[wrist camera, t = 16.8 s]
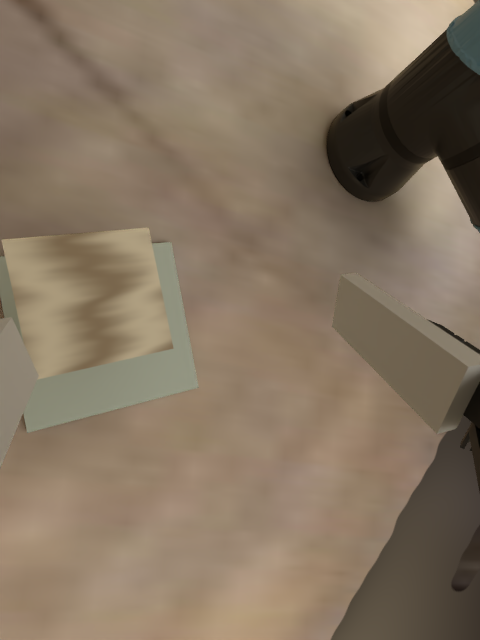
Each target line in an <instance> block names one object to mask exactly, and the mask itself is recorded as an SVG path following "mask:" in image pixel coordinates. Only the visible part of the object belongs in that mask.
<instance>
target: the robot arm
mask: <svg viewBox="0 0 480 640" xmlns="http://www.w3.org/2000/svg"><path fill="white" fill-rule="evenodd" d="M327 151H328V157H329V161H330V164H331V167H332V169H333V171H334V173H335V175H336V177H337V179H338V180H339V182H340V183H341V184H342V185H343V186H344V188H345V189H346V190H348V191H349V192H350V193H351V194H352V195H354V196H356V197H357V198H360V199H362V200H365V201H380V200H383V199H385V198H387V197H388V196H390V195H392V194H394V193H396V192H397V191H398V190H400V189H401V188H402V187H403V186H404V185H405V184H406V183H407V182H408V180H409V179H410V178H411V177H412V176H413V175H414V174H415V173H416V172H417V171H418V170H419V169H420V168H421V167H422V166H423V165H424V164H425V163H426V162H428V161H430V160H432V159H433V158H435V157H437V156H438V157H439V159H440V161H441V163H442V165H443V166H444V168H445V170H446V172H447V174H448V176H449V178H450V180H451V182H452V184H453V186H454V188H455V190H456V192H457V194H458V196H459V198H460V199H461V201H462V203H463V205H464V207H465V209H466V211H467V213H468V215H469V217H470V221H471V223H472V224H473V226H474V227H475V228H476V229H477V230H478V231H479V233H480V0H479V1H478V2H477V3H475V4H474V5H473V6H472V7H471V8H470V9H468V10H467V11H466V12H465V13H464V14H462V15H460V16H458V17H457V18H455V19H454V20H453V21H452V22H451V23H450V24H449V27H448V28H447V30H446V31H445V32H444V33H443V34H441V35H440V36H439V37H438V38H437V39H436V40H435V41H434V42H433V43H432V44H431V45H430V46H429V47H428V48H427V49H426V50H424V51H423V52H422V53H421V54H420V55H419V56H418V57H417V58H416V59H415V60H414V61H413V62H412V63H411V64H409V65H408V66H407V67H406V68H405V69H404V70H403V71H402V72H401V73H400V74H399V75H397V76H396V77H395V78H394V79H393V80H392V81H391V82H390V83H389V84H388V85H387V86H386V87H385V88H383V89H381V90H379V91H377V92H375V93H373V94H370V95H368V96H366V97H364V98H362V99H360V100H358V101H356V102H353V103H352V104H350V105H349V106H347V107H346V108H345V109H344V110H343V111H342V112H341V113H340V114H339V115H338V116H337V117H336V118H335V119H334V121H333V122H332V124H331V126H330V129H329V132H328V138H327ZM332 327H333V328H334V329H335V330H336V331H337V332H338V333H339V334H340V335H341V336H342V337H343V338H344V339H345V340H346V341H347V342H348V343H349V344H350V345H351V346H352V347H353V348H354V349H355V350H356V351H357V352H358V353H359V355H360V356H361V357H362V358H363V359H364V360H365V361H366V362H367V363H368V364H369V365H370V366H371V367H372V368H373V369H374V370H375V371H376V372H377V373H378V374H379V375H380V376H381V377H382V378H383V379H384V380H385V381H386V382H387V383H388V384H389V385H390V386H391V387H392V388H393V389H394V390H395V391H396V392H397V394H398V395H399V396H400V397H401V398H402V399H403V400H404V401H405V402H406V403H407V404H408V405H409V406H410V407H411V408H412V409H413V410H414V411H415V412H416V413H417V414H418V415H419V416H420V417H421V418H422V419H423V420H424V421H425V422H426V423H427V424H428V425H429V426H430V427H431V428H432V429H433V430H434V431H435V433H436V434H439V433H442V432H446V431H450V430H453V429H457V427H458V425H459V423H460V421H461V419H462V417H463V415H464V416H466V417H467V418H468V419H469V420H470V421H471V422H472V423H471V425H470V427H469V428H468V430H467V432H466V434H465V436H464V438H463V439H462V441H461V445H460V447H461V448H463V449H464V448H465V446H466V444H467V443H468V442H471V449H470V451H472V453H473V458H474V464H475V470H476V475H477V481H478V486H479V491H480V350H479V349H477V348H476V347H474V346H473V345H471V344H470V343H468V342H465V341H464V339H462V338H461V337H459V336H457V335H454V333H453V332H451V331H450V330H448V329H447V328H445V327H444V326H442V325H440V324H437V323H435V322H432V321H430V320H427V319H425V318H424V317H422V316H421V315H419V314H418V313H416V312H415V311H413V310H412V309H410V308H409V307H407V306H406V305H404V304H403V303H401V302H400V301H398V300H396V299H395V298H393V297H392V296H390V295H389V294H387V293H386V292H384V291H383V290H381V289H380V288H378V287H377V286H375V285H374V284H372V283H371V282H369V281H368V280H366V279H365V278H363V277H362V276H360V275H359V274H357V273H349V274H341V276H340V282H339V288H338V294H337V300H336V306H335V312H334V318H333V324H332ZM38 376H39V375H38V373H37V371H36V369H35V367H34V364H33V362H32V360H31V358H30V356H29V353H28V351H27V349H26V347H25V345H24V343H23V340H22V338H21V336H20V334H19V332H18V330H17V327H16V325H15V323H14V321H13V319H12V317H9V318H2V319H0V467H1V465H2V463H3V460H4V458H5V455H6V453H7V451H8V448H9V446H10V443H11V441H12V439H13V436H14V434H15V431H16V429H17V427H18V424H19V422H20V419H21V417H22V415H23V412H24V410H25V408H26V405H27V403H28V400H29V398H30V396H31V393H32V391H33V388H34V386H35V384H36V381H37V379H38Z"/></svg>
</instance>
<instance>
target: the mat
mask: <svg viewBox="0 0 480 640" xmlns="http://www.w3.org/2000/svg"><path fill="white" fill-rule="evenodd" d="M152 246H153V251H154V256H155V261H156V266H157V271H158V276H159V280H160V285H161V290H162V295H163V300H164V305H165V309H166V314H167V319H168V324H169V329H170V334H171V338H172V343H173V348H174V349H170V350H165V351H161V352H156V353H152V354H148V355H143V356H139V357H135V358H130V359H126V360H121V361H117V362H113V363H108V364H104V365H99V366H95V367H91V368H86V369H82V370H77V371H73V372H69V373H64V374H60V375H55V376H51V377H47V378H42V379H38V380H37V381H36V384H35V386H34V388H33V391H32V393H31V396H30V398H29V400H28V403H27V405H26V408H25V410H24V412H23V414H24V419H25V424H26V429H27V433H29V432H33V431H36V430H40V429H44V428H48V427H51V426H55V425H59V424H63V423H67V422H70V421H74V420H78V419H82V418H85V417H89V416H93V415H97V414H101V413H104V412H108V411H112V410H116V409H119V408H123V407H127V406H131V405H135V404H138V403H142V402H146V401H150V400H153V399H157V398H161V397H165V396H169V395H172V394H176V393H180V392H184V391H187V390H191V389H195V388H199V387H198V381H197V376H196V371H195V366H194V360H193V355H192V350H191V344H190V339H189V334H188V328H187V323H186V318H185V313H184V307H183V302H182V297H181V291H180V286H179V281H178V275H177V270H176V265H175V260H174V254H173V249H172V244H171V242H166V243H154V244H152ZM0 298H1V303H2V308H3V313H4V318H9V317H12V319H13V321H14V323H15V325H16V327H17V330H18V332H19V334H20V336H21V338H22V340H23V337H22V332H21V328H20V323H19V318H18V314H17V309H16V304H15V300H14V295H13V291H12V286H11V281H10V277H9V272H8V268H7V263H6V258H5V256H1V257H0ZM23 343H24V341H23Z"/></svg>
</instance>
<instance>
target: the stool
mask: <svg viewBox="0 0 480 640" xmlns="http://www.w3.org/2000/svg"><path fill="white" fill-rule="evenodd" d="M2 244H3V249H4V254H5V258H6V263H7V268H8V272H9V277H10V281H11V286H12V291H13V295H14V300H15V304H16V309H17V314H18V318H19V323H20V328H21V332H22V337H23V341H24V345H25V347H26V349H27V351H28V353H29V356H30V358H31V360H32V362H33V364H34V367H35V369H36V371H37V373H38V375H39V376H38V379H42V378H47V377H51V376H55V375H60V374H64V373H69V372H73V371H77V370H82V369H86V368H91V367H95V366H99V365H104V364H108V363H113V362H117V361H121V360H126V359H130V358H135V357H139V356H143V355H148V354H152V353H156V352H161V351H165V350H170V349H174V348H173V343H172V338H171V334H170V329H169V324H168V319H167V314H166V309H165V305H164V300H163V295H162V290H161V285H160V280H159V276H158V271H157V266H156V261H155V256H154V251H153V246H152V242H151V237H150V232H149V228H138V229H126V230H113V231H101V232H89V233H77V234H64V235H52V236H40V237H28V238H16V239H3V240H2ZM38 379H37V380H38Z"/></svg>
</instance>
